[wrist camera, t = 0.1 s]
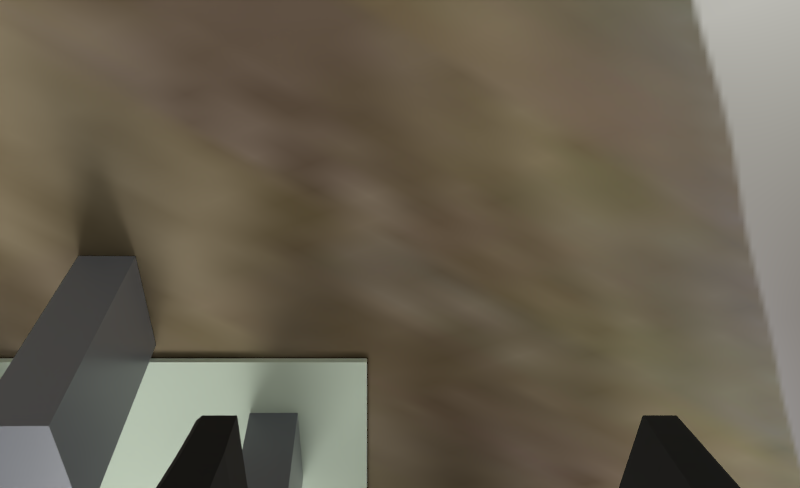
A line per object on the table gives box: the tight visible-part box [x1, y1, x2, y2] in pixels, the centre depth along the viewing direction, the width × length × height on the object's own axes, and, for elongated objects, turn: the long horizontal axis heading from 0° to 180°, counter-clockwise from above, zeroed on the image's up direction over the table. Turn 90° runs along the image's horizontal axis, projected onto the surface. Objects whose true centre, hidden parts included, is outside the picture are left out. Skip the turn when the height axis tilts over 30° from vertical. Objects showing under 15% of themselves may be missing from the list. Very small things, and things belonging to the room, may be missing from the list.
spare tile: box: [0, 256, 156, 488], centre depth 20 cm, size 2×4×7 cm, turn 178°
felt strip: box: [0, 358, 367, 488], centre depth 27 cm, size 9×26×1 cm, turn 88°
